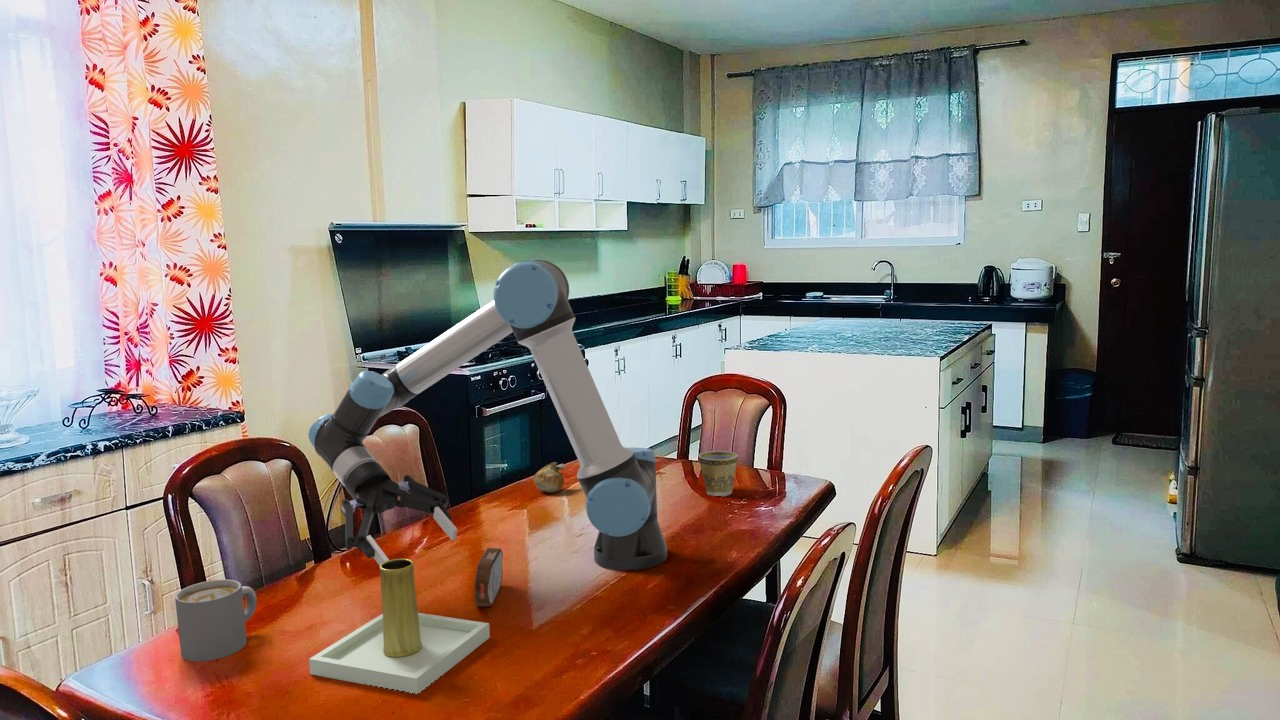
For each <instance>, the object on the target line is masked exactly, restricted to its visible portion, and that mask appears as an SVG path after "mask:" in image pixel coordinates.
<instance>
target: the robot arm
mask: <svg viewBox="0 0 1280 720" xmlns="http://www.w3.org/2000/svg"><path fill="white" fill-rule="evenodd" d="M569 284H570V283H569V280H568V279H567V276H566V274H565V272H564V271H563V270H562V269H561V268H560V267H559V266H557V265H556V264H554V263H553V262H551V261H548V260H542V259H538V260H536V259H535V260H522V261H519V262H516V263H514V264H512V265H511V266H509V267H508V268H506V269H504V270H503V272H501V273H500V275H499V277H498V278H497V280H496V281H495V284H494V287H493V288H494V289H493V300H491V301H489V302H488V303H486V304H485V305H483V306H482V307H481V308H479V309H477V310H476V311H474V312H473V313H471V314H470V315H469V316H467V317H465V318H464V319H463V320H461V321H459V322H458V323H456V324H455V325H454V326H452V327H451V328H449V329H447V330H446V331H444V332H443V333H441V334H440V335H439V336H437V337H436V338H434V339H433V340H431V341H430V342H428V343H427V344H425V345H424V346H422V347H420V348H419V349H418V350H416V351H415V352H413V353H411V354H410V355H409V356H407V357H405V358H404V359H403V360H402V361H400V362H398V363H397V364H396V365H394V366H392V367H391V368H389V369H388V370H386V371H384V372H383V373H382V374H380V373H378V372H376V371H370V370H363V371H361V372H360V373H359V374H358V375H357V376H356V378H355V379H354V380H353V381H352V382H351V383H350V385H349V388H348V390H347V391H346V394H345V395H344V397H343V398H342V400H341V401H340V403H339V405H338V407H337V408H336V410H335V411H334V412H333V413H328V414H325V415H322V416H320V417H319V418H318V420H316V421H314V422H313V423H312V424H311V426H310V428H309V430H308V439H309V442H310V444H311V446H313V449H314V451H315V452H316V454H317V455H318V456H319V457H321V459H322V460H323V462H325V464H326V465H327V466H328V467H329V468H330V470H331V471H332V472H333V474H334V476H335V477H336V478H337V479H338V480H339V482H340V483H341V485H342V486H343V487H344V488H345V490H346V492H347V493H348V494H349V495H350V496H351V498H352V500H349V499H348V498H343V499H342V500H341V513H342V514H343V516H344V521H345V523H344V524H345V528H344V529H345V549H347V550H352V549H353V548H356V549H357V551H360V552H361V551H362V553H364V555H365V556H366V558H368V559H372V558H373V560H375V561H376V563H377V565H378V566H379V567H380V565H381V564H382V563H384V562H386V561H389V560H390V559H389V558H388V556H387V555H386V554H385V552H384V551H383V549H381V547H380V545H378V543H377V542H376V540H375V539H374V537H372V535H370V534H369V530H370V527H371V524H372V521H373V519H374V516H375V514H379V515H380V514H383V513H385V512H386V511H388V510H389V511H390V510H392V509H395V507H396V508H400V509H402V508H408V509H412V510H415V511H418V512H419V511H420V512H424V513H428V514H432V515H433V519H434V521H435V522H436V523H437V525H439V527H440V529H442V530H443V532H444V533H445V534H446V535H447V536H448V537H449V539H450V540H451V541H452V542H453V541H456V540H457V536H458V535H457V534H458V528H457V526H455V524H454V523H453V522H452V515H451V514H450V513H449V511H448V510H447V509H448V505H449V496H448V495H446V494H444V493H441V492H440V491H437V490H434V489H432V488H431V487H428V486H426V485H424V484H422V483H419V482H418V481H415V479H413V478H412V477H411V476H410V475H404V476H403V479H402V480H401V481H399V482H396V481H394V480H392V478H391V477H390V475H389V474H388V472H387V471H386V470H385V469H384V467H382V465H381V464H380V463H379V461H378V460H377V459H376V458H375V456H373V454H372V453H371V452H370V451H369V450H368V448H367V447H366V446H365V445H364V441H365V439H366V437H367V436H368V435H369V433H370V432H371V430H372V428H373V427H374V426H375V424H376V422H377V420H378V419H379V418H381V417H383V416H384V415H386V414H388V413H390V412H392V411H395V410H397V409H399V408H401V407H403V406H405V405H406V404H407V403H408V402H409V401H411V400H412V399H414V398H415V397H416V396H417V395H419V394H420V393H422V392H424V391H425V390H427V389H428V388H429V387H432V386H433V385H434V384H436V383H438V382H439V381H440V380H442V379H444V378H445V377H446V376H448V375H449V374H451V373H454V371H456V370H457V369H459V368H460V367H462V366H463V365H464V364H467V362H469V361H471V360H473V359H474V358H476V357H477V356H479V355H480V354H481V353H483V352H485V351H487V350H488V349H489V348H491V347H492V346H494V345H495V344H497V343H498V342H500V341H502V340H504V338H506V337H507V336H510V335H511V334H512V333H513V335H514V337H515V339H516V342H517V343H518V344H519V345H521V346H524V347H526V348H528V349H529V350H530V353H531V355H532V358H533V359H534V362H535V364H536V366H537V369H538V371H539V373H540V375H541V378H542V380H543V383H544V386H545V387H546V390H547V392H548V394H549V396H550V399H551V401H552V403H553V405H554V408H555V409H556V411H557V412H556V413H557V415H558V417H559V419H560V421H561V424H562V426H563V428H564V430H565V433H566V435H567V437H568V440H569V442H570V445H571V446H572V448H573V451H574V454H575V456H576V457H577V460H578V462H579V469H578V470H577V471H578V472H577V473H576V477H577V481H578V482H579V484H580V487H581V490H582V492H583V493H584V496H585V511H586V515H587V518H588V520H589V522H590V523H591V524H592V526H593V527H594V528H595V529H596V530H597V531H598V533H597V536H596V539H595V543H594V546H593V560H594V562H595V563H596V564H597V565H599V566H601V567H603V568H605V569H611V570H616V571H617V570H619V571H635V570H636V571H637V570H643V569H644V570H645V569H649V568H652V567H653V568H654V567H655V566H658V565H660V564H662V563H664V562H666V560H667V558H668V547H667V542H666V540H665V537H664V534H663V531H662V530H661V527H660V524H659V520H658V504H657V503H658V500H657V497H658V496H657V470H656V469H657V468H656V466H657V461H656V454H655V451H654V450H653V449H652V448H649V447H648V448H647V447H625V446H623V445H622V443H621V441H620V438H619V435H618V434H617V431H616V428H615V427H614V425H613V424H614V423H613V422H612V420H611V418H610V415H609V413H608V410H607V409H606V408H607V407H606V406H605V404H604V401H603V399H602V397H601V394H600V392H599V390H598V387H597V386H596V383H595V381H594V378H593V376H592V374H591V372H590V369H589V367H588V365H587V362H586V360H585V358H584V356H583V353H582V350H581V348H580V346H579V344H578V342H577V341H578V340H577V339H576V337H575V335H574V332H573V326H574V323H575V322H576V316H575V314H574V312H573V309H572V307H571V305H570V303H569V296H570V285H569ZM399 497H400V499H399ZM356 507H357V508H358V509H361V510H364V513H363V517H362V519H361V523H360V527H359V529H358V533H357V535H354V515H353V514H354V513H355V511H356Z"/></svg>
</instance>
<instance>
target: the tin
mask: <svg viewBox="0 0 1280 720" xmlns="http://www.w3.org/2000/svg"><path fill="white" fill-rule="evenodd" d="M503 557H504V552H503V550H502V549H501V548H496V547H495V548H494V547H487V548H486V549H485V551H484V553H483V554H482V556H481V558H480V559H479V561H478V563H477V566H476V570H475V577H474V578H475V579H474V587H473V588H474V603H475V607H488V608H489V607H491V606H492V605H493V604H494V602H495V600H496V598H497V597H498V594H499V592H500V590H501V586H502V583H503Z"/></svg>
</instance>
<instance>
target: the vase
mask: <svg viewBox="0 0 1280 720" xmlns="http://www.w3.org/2000/svg"><path fill="white" fill-rule="evenodd" d="M379 574H380V575H379V576H380V593H381V594H380V595H381V606H382V607H381V609H382V614H383V639H384V646H383V653H384V654H385V655H387V656H390V657H405V656H409V655H412V654H414V653H416V652H418V651H419V650H420V649H421V647H422V643H421V638H420V627H419V618H418V613H419V609H418V603H417V602H418V601H417V591H416V584H415V583H416V581H415V568H414V560H412V559H410V558H394V559H391V560H390V559H389V561H386V562H384V563H382V564H381V565H380V566H379Z"/></svg>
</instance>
